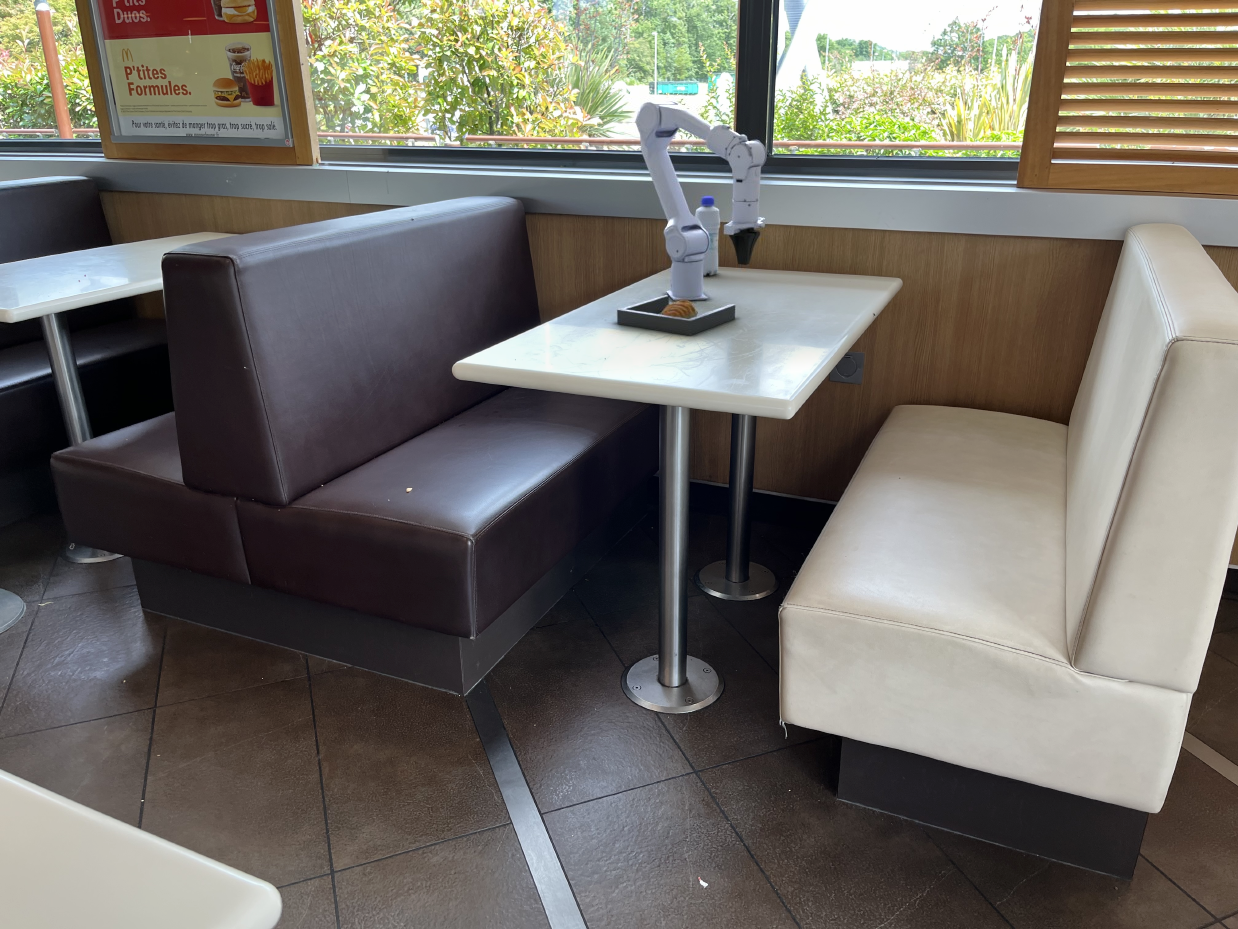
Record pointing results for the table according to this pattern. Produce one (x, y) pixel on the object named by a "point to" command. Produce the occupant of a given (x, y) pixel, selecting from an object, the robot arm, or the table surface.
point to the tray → (647, 318)
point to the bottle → (710, 233)
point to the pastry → (680, 309)
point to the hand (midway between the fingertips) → (743, 264)
